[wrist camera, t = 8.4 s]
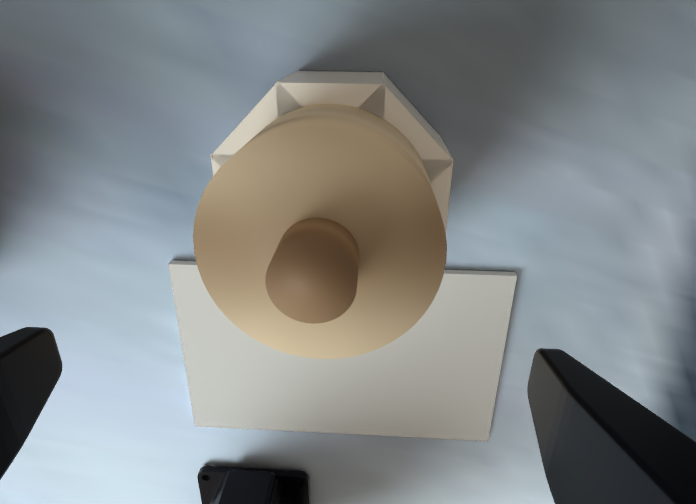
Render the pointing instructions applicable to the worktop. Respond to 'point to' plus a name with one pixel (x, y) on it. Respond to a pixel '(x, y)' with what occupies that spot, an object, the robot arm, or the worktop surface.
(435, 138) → the bowl
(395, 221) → the lid
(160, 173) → the worktop surface
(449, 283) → the mat
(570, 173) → the worktop surface
